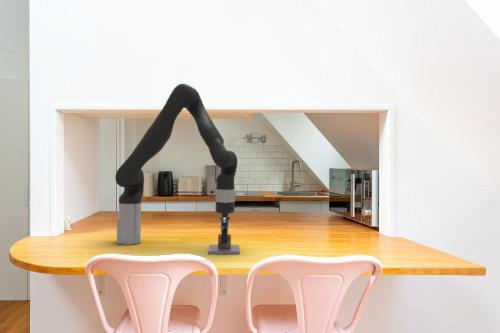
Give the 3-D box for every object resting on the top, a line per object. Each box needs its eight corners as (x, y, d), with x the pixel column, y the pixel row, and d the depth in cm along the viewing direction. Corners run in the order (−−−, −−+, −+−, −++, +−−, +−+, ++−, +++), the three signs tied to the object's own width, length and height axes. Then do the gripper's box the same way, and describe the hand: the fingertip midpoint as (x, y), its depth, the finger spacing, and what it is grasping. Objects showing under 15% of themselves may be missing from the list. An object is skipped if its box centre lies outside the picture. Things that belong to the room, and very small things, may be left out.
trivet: (208, 254, 147) (208, 251, 147) (209, 247, 159) (209, 244, 159) (239, 254, 148) (239, 251, 148) (239, 247, 160) (239, 244, 160)
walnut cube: (217, 249, 151) (218, 236, 151) (218, 246, 156) (218, 234, 156) (230, 249, 151) (230, 236, 151) (230, 246, 156) (230, 234, 156)
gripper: (216, 198, 160) (215, 237, 161) (214, 202, 146) (214, 245, 146) (234, 199, 161) (233, 237, 161) (234, 202, 147) (234, 245, 147)
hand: (224, 241), depth 154 cm, fingers open, 8 cm apart
